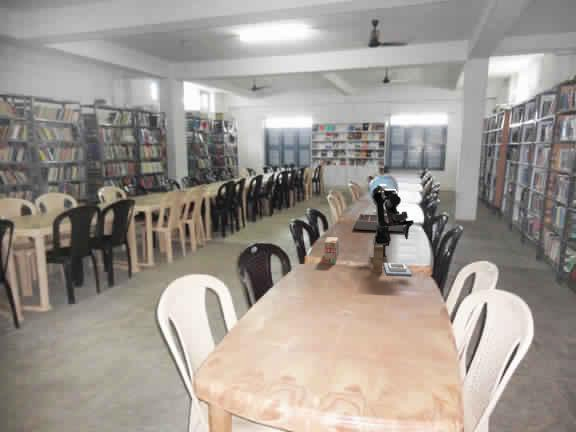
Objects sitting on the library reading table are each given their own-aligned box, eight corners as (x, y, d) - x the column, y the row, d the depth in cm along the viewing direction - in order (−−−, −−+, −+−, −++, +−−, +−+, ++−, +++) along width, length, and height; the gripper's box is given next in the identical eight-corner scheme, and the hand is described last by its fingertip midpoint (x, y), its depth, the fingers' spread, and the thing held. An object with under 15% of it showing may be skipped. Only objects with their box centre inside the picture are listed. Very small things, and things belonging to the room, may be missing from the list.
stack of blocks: (328, 253, 236) (328, 233, 234) (338, 254, 235) (339, 233, 233) (324, 263, 215) (324, 241, 213) (335, 264, 214) (336, 242, 212)
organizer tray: (408, 233, 290) (409, 220, 288) (354, 231, 300) (354, 218, 298) (407, 225, 321) (408, 213, 319) (357, 223, 331) (358, 211, 329)
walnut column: (372, 269, 204) (373, 245, 202) (381, 269, 204) (382, 245, 201) (373, 272, 200) (374, 247, 198) (382, 272, 199) (383, 247, 197)
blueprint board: (383, 264, 213) (383, 259, 212) (406, 265, 211) (406, 260, 211) (386, 274, 195) (386, 270, 195) (411, 275, 194) (411, 271, 193)
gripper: (380, 207, 197) (387, 237, 192) (414, 204, 200) (422, 233, 195) (372, 215, 207) (379, 243, 202) (405, 212, 210) (412, 240, 206)
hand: (398, 240), depth 201 cm, fingers open, 9 cm apart
